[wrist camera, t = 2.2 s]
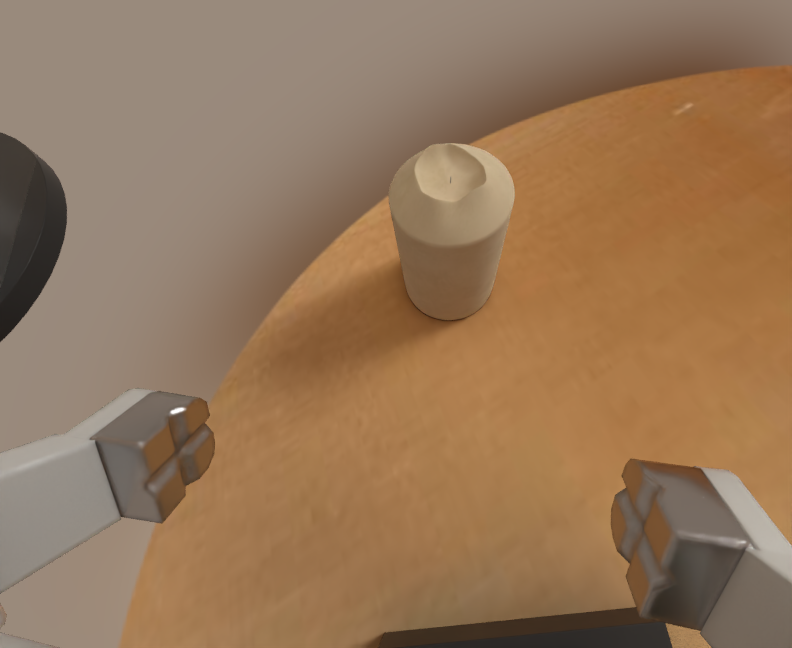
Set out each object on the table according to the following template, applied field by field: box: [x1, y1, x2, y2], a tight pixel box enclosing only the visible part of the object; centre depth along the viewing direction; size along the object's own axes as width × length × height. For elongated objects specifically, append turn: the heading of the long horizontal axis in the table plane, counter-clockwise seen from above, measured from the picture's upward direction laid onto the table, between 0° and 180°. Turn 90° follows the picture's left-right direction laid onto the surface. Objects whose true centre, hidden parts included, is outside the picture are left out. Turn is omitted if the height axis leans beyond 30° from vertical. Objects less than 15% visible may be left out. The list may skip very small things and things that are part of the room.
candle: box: [389, 143, 515, 320], centre depth 21 cm, size 6×6×10 cm
